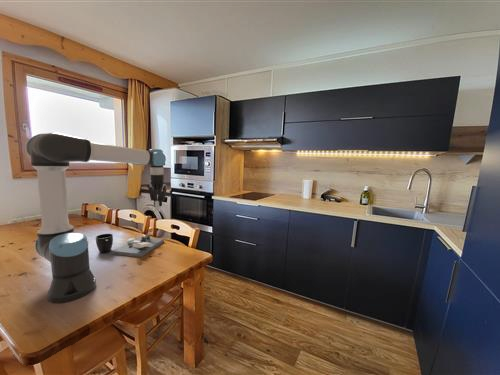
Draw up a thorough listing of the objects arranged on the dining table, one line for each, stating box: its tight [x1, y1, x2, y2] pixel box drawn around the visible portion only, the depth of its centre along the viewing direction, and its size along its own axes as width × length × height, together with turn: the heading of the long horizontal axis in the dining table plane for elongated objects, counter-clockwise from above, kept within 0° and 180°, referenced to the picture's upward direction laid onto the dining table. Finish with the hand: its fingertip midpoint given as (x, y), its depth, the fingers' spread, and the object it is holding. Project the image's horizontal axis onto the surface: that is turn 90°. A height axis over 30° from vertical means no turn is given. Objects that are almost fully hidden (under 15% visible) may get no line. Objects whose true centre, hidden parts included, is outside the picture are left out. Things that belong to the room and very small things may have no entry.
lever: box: [145, 227, 154, 239], centre depth 136 cm, size 3×3×9 cm
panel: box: [112, 233, 165, 258], centre depth 129 cm, size 23×18×5 cm
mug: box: [95, 233, 114, 254], centre depth 122 cm, size 8×12×10 cm
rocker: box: [133, 242, 151, 248], centre depth 122 cm, size 10×4×2 cm, turn 171°
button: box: [126, 237, 136, 245], centre depth 130 cm, size 4×4×2 cm
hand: (158, 210), depth 132 cm, fingers closed
